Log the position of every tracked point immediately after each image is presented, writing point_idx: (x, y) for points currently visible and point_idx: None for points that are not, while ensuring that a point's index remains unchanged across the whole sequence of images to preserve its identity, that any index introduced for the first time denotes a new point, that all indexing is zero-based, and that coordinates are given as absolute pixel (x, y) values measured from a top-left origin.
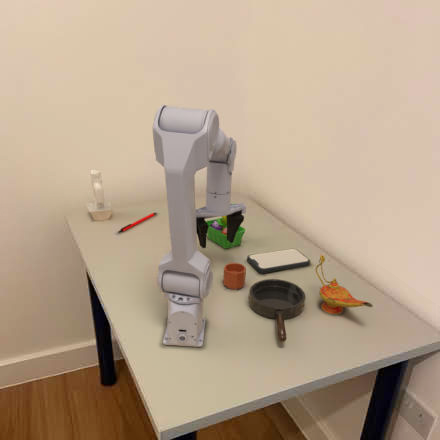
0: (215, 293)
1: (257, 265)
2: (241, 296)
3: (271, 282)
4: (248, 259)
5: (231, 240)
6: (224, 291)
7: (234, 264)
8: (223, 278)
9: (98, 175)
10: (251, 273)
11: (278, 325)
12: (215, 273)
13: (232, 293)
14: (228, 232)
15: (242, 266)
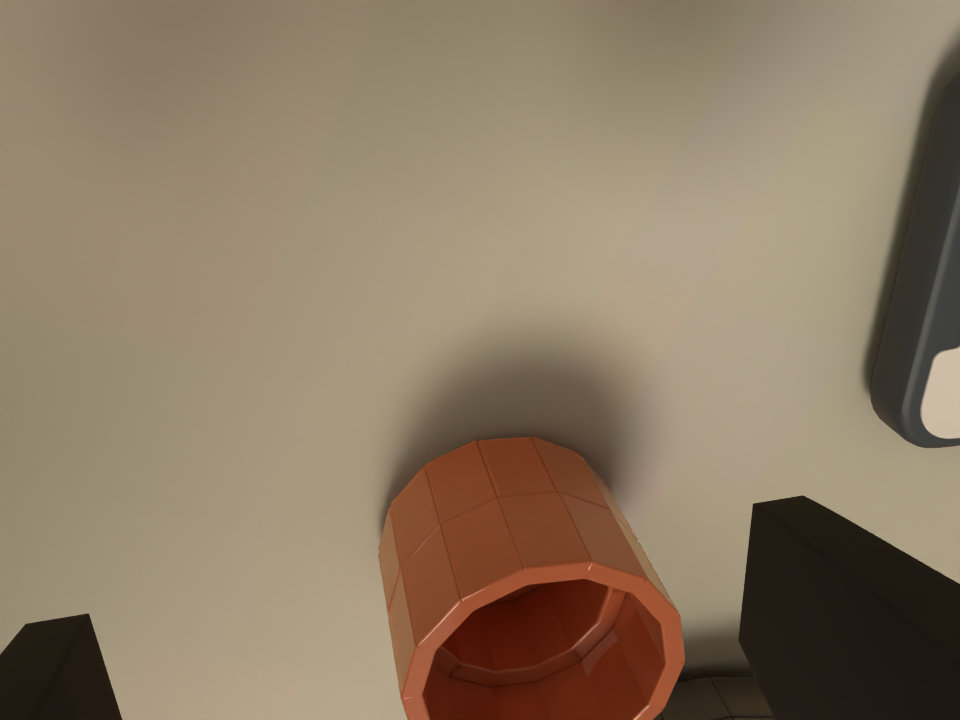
0: (235, 624)
1: (925, 362)
2: None
3: None
4: (953, 142)
5: (768, 700)
6: (342, 609)
7: (598, 573)
8: (394, 542)
9: None
10: (794, 360)
11: None
12: (400, 240)
13: None
14: (865, 675)
15: (660, 642)
